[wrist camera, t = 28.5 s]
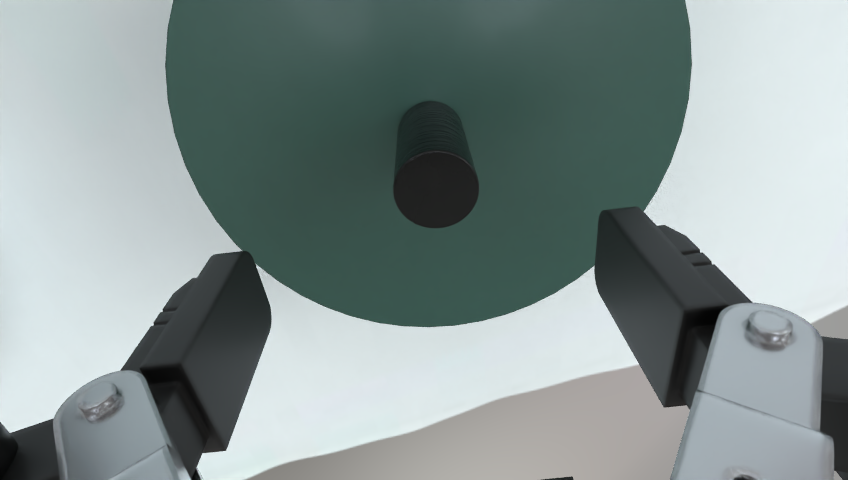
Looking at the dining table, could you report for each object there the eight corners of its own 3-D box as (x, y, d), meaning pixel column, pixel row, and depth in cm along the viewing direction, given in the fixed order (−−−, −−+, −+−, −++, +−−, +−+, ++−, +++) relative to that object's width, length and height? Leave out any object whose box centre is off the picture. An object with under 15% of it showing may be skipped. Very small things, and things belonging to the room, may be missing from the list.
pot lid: (266, 332, 24) (224, 439, 18) (79, -141, 14) (-116, -196, 9) (647, 288, 23) (717, 388, 18) (721, -248, 13) (922, -378, 8)
